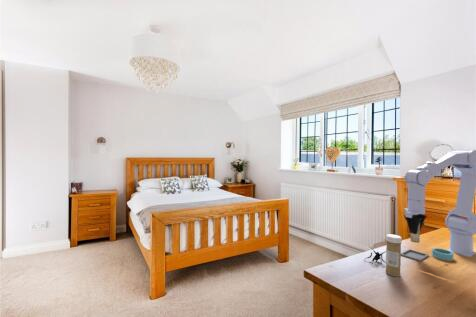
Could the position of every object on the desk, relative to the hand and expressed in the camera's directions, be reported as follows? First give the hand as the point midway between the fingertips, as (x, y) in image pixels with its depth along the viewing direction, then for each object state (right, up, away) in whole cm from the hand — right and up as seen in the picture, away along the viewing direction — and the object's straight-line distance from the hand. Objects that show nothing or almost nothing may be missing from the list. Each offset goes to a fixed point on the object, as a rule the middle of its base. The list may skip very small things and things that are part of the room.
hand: (415, 232), depth 101 cm
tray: (0, -10, 0) cm, 10 cm away
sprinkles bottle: (-18, -10, -14) cm, 25 cm away
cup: (+10, -10, -1) cm, 15 cm away
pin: (0, -4, 0) cm, 4 cm away
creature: (-19, -10, -6) cm, 22 cm away
